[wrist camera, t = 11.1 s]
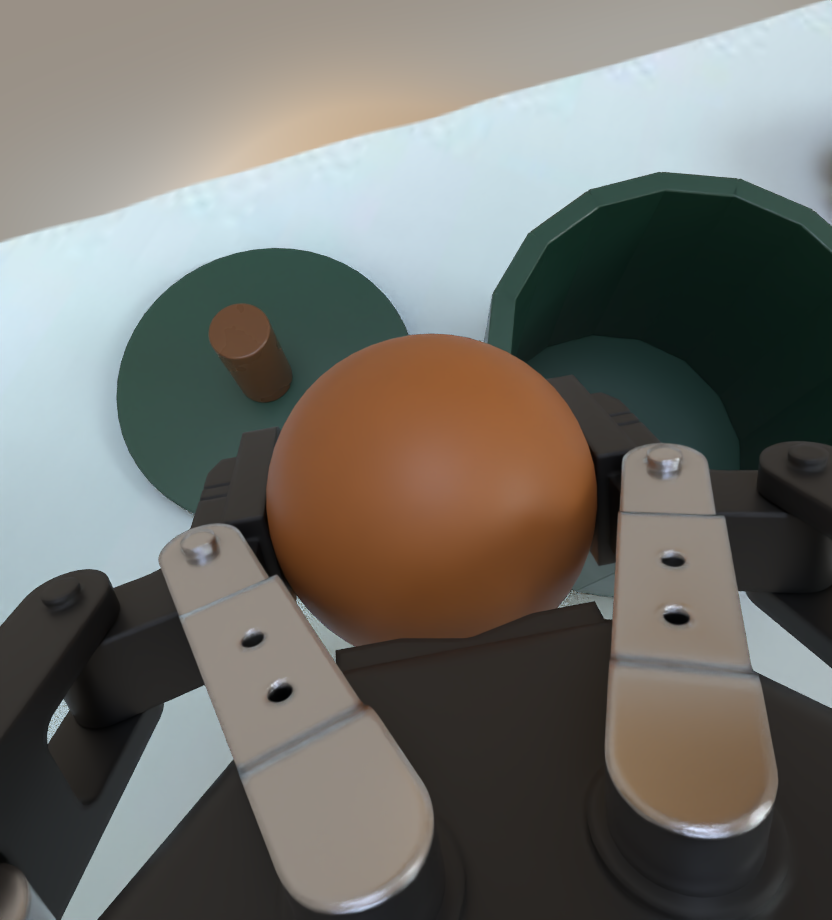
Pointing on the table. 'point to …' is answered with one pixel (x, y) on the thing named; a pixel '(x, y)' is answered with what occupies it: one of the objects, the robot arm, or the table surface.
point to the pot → (681, 315)
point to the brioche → (430, 492)
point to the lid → (238, 357)
